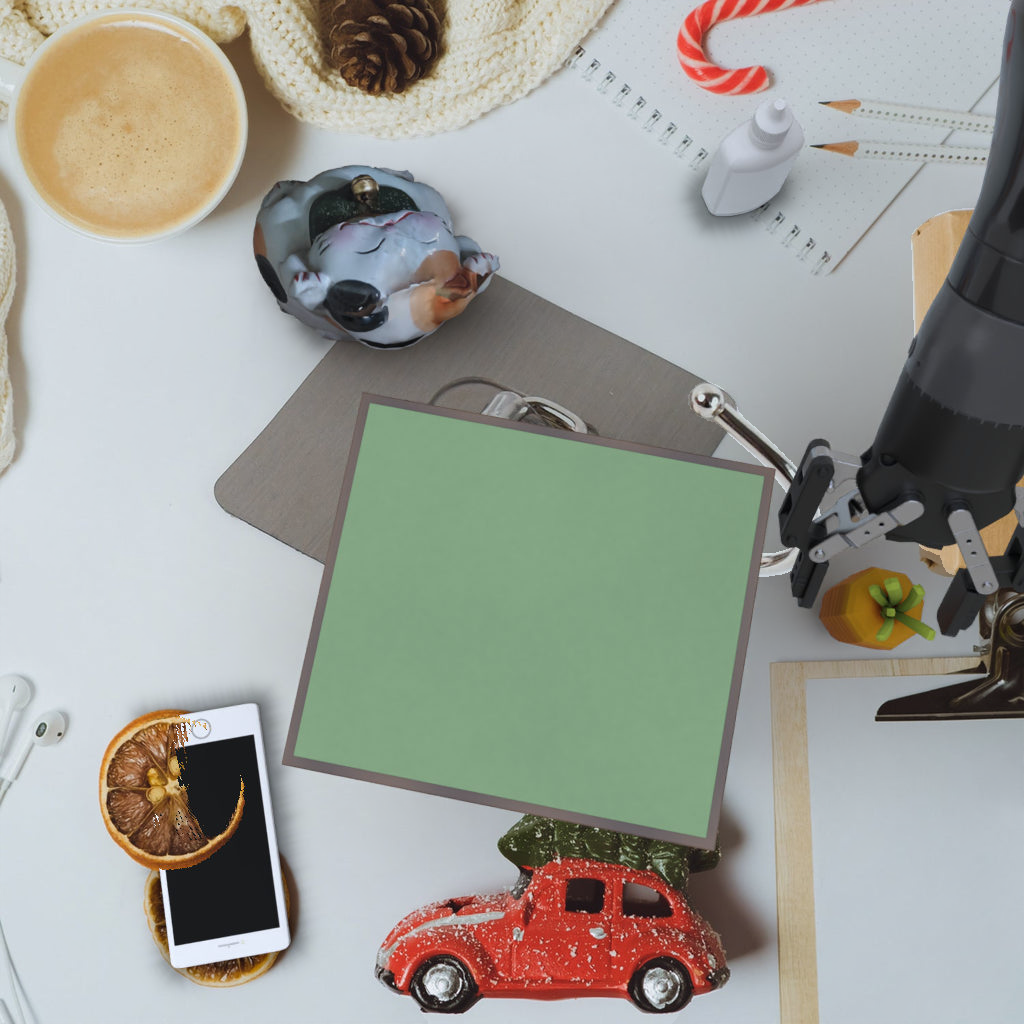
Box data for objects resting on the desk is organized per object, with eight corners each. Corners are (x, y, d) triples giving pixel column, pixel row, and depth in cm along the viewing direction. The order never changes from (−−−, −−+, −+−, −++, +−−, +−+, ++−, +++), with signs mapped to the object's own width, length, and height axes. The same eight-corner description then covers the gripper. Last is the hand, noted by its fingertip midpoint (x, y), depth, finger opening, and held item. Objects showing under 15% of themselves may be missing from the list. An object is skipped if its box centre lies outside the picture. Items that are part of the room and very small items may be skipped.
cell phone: (258, 701, 71) (256, 701, 70) (292, 946, 68) (289, 949, 68) (145, 721, 70) (141, 721, 70) (174, 967, 68) (171, 970, 68)
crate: (679, 542, 72) (776, 468, 44) (639, 775, 70) (715, 851, 42) (424, 494, 73) (362, 391, 45) (377, 723, 70) (280, 764, 43)
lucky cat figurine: (453, 166, 76) (513, 149, 63) (461, 332, 79) (520, 349, 66) (242, 170, 71) (260, 153, 59) (259, 346, 74) (281, 367, 62)
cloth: (762, 477, 44) (765, 476, 44) (704, 836, 42) (706, 838, 42) (371, 404, 45) (369, 402, 44) (295, 754, 43) (293, 755, 42)
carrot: (875, 645, 71) (967, 641, 56) (803, 657, 71) (876, 657, 56) (859, 573, 71) (947, 551, 56) (788, 585, 71) (857, 566, 56)
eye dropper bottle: (775, 225, 75) (821, 143, 63) (697, 215, 75) (729, 131, 63) (781, 168, 76) (829, 77, 64) (704, 158, 76) (737, 65, 64)
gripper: (850, 389, 49) (758, 633, 59) (1151, 445, 49) (1007, 681, 59) (834, 320, 55) (752, 551, 65) (1102, 368, 55) (979, 595, 65)
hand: (873, 613), depth 62 cm, fingers open, 8 cm apart
